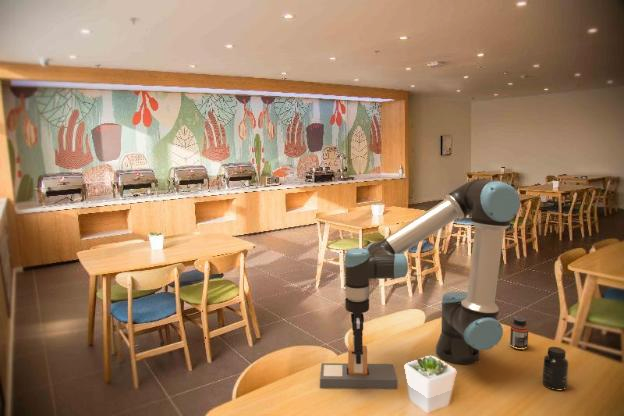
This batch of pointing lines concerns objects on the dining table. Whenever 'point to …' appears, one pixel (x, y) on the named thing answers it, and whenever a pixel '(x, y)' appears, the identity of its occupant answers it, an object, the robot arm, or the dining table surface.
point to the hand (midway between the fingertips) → (357, 363)
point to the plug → (351, 361)
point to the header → (358, 377)
